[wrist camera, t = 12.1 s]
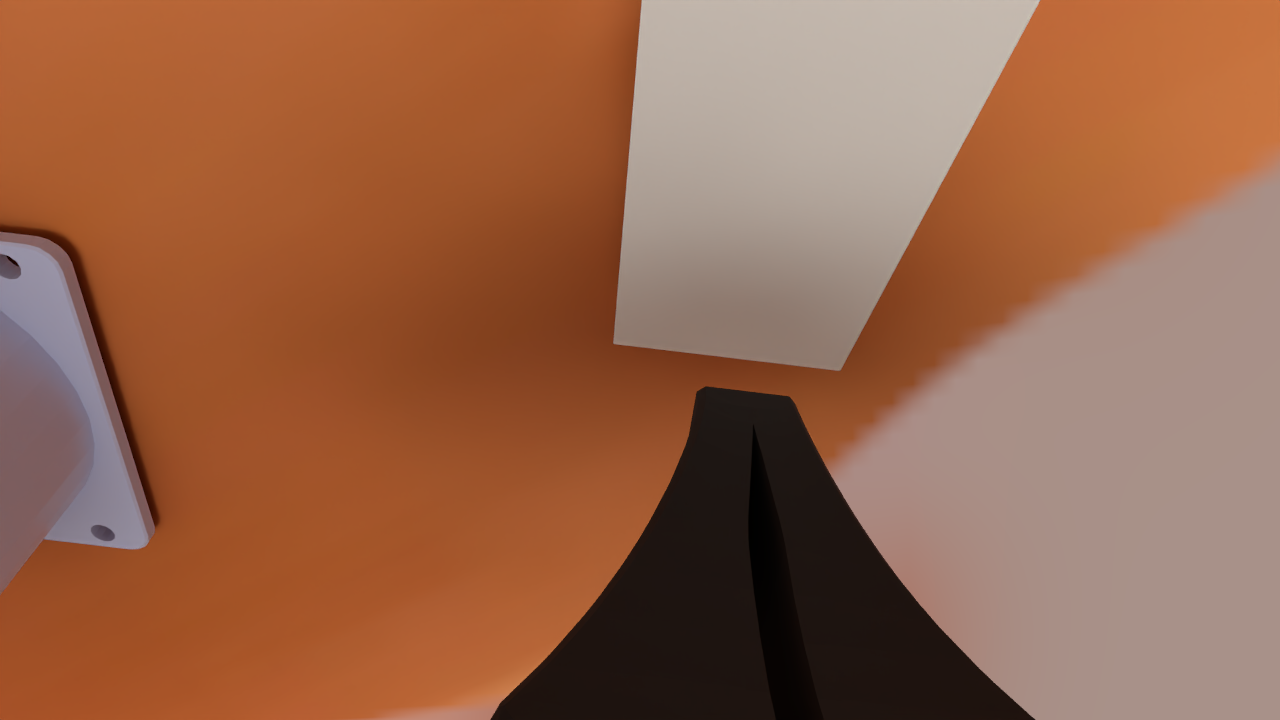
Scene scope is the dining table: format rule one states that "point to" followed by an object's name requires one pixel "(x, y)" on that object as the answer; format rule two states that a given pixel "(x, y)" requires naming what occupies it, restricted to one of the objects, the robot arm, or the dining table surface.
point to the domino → (791, 163)
